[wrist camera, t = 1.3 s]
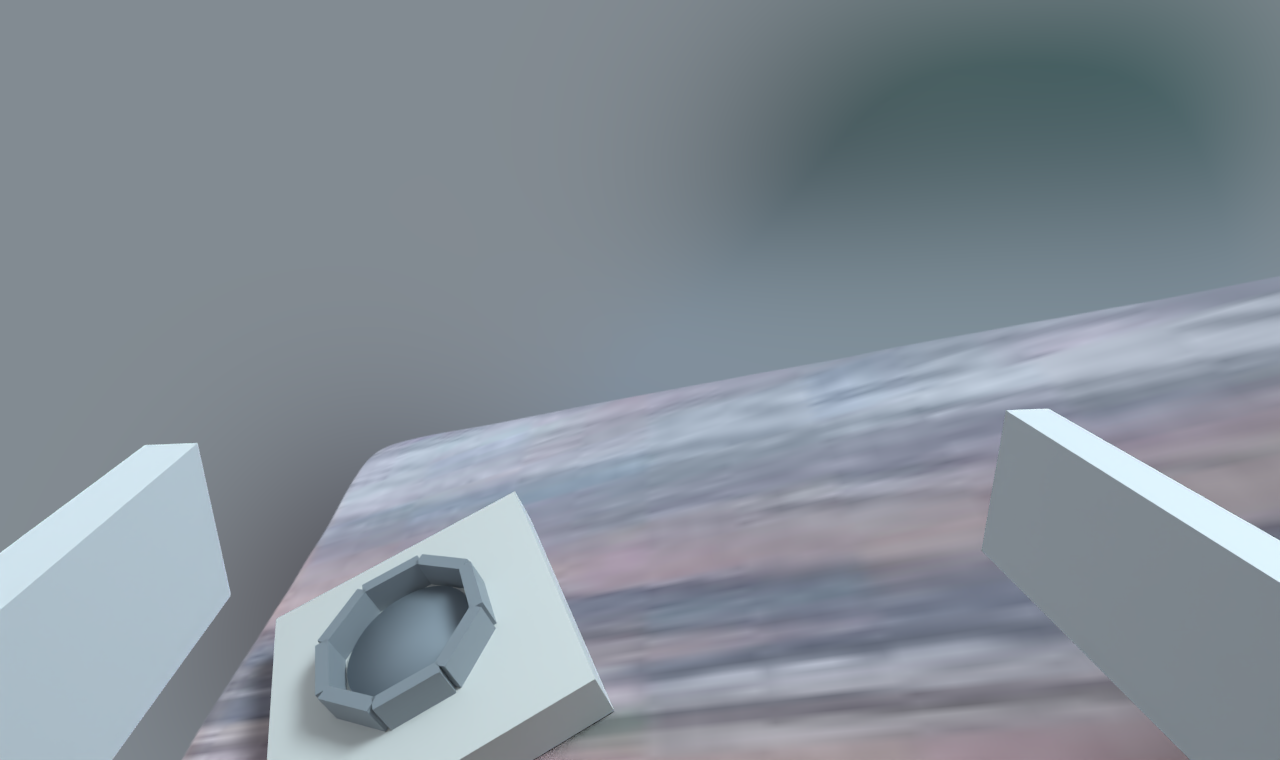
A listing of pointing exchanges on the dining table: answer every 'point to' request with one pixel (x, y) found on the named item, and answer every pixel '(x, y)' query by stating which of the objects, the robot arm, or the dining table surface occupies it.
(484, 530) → the base plate
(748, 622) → the dining table surface
